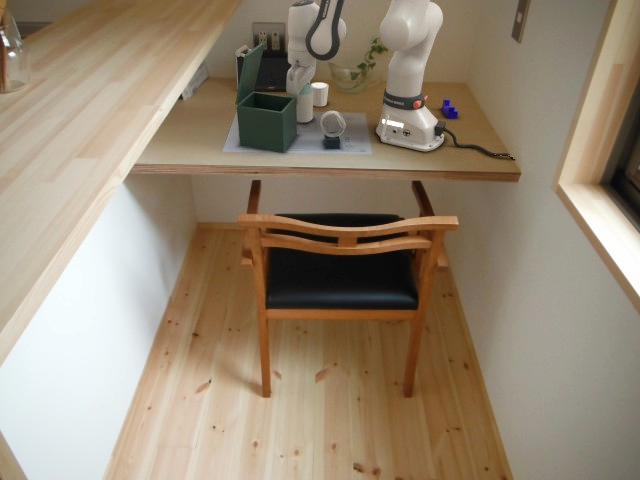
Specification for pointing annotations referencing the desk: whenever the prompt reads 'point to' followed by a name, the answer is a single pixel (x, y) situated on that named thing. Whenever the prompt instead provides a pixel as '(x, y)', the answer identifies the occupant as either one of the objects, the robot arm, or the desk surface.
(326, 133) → the watch
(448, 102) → the cable holder
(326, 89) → the white cup
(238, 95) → the lid
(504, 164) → the desk surface
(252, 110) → the trash can
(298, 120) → the can
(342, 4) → the robot arm
